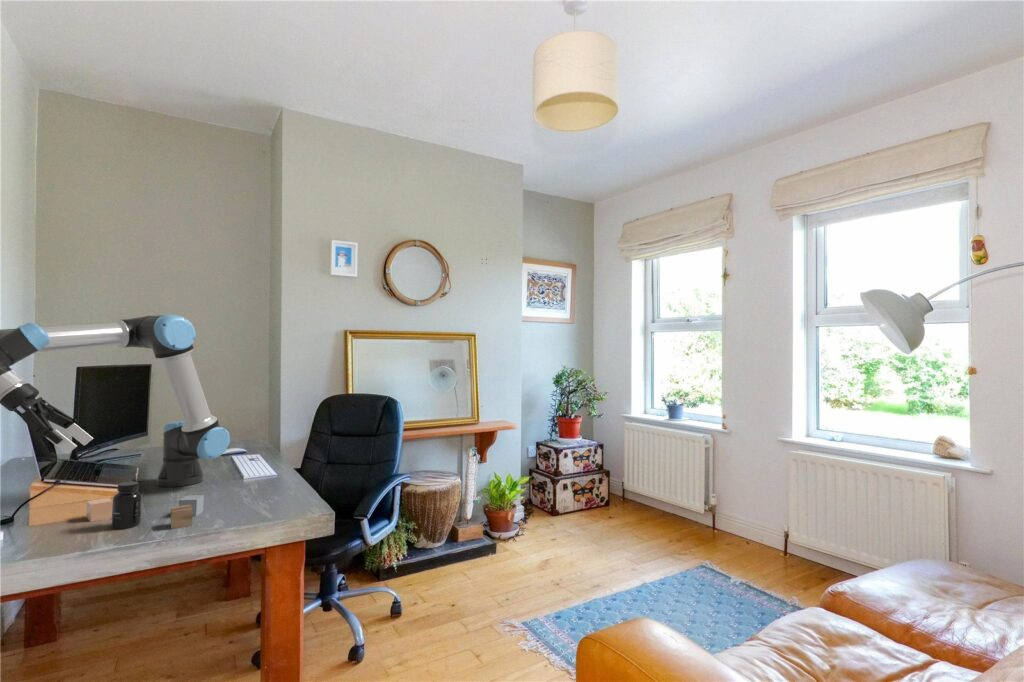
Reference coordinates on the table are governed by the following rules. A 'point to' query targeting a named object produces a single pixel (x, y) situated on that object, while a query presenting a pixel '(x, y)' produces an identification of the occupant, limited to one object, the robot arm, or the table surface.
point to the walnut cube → (181, 516)
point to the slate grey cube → (193, 503)
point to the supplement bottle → (127, 506)
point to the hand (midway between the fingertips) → (81, 446)
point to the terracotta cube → (99, 509)
